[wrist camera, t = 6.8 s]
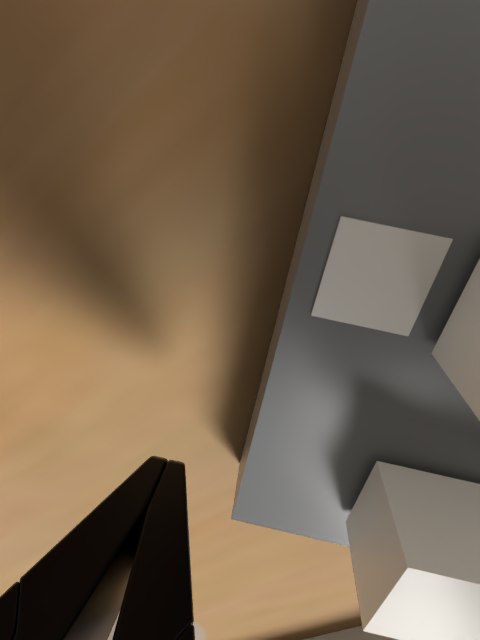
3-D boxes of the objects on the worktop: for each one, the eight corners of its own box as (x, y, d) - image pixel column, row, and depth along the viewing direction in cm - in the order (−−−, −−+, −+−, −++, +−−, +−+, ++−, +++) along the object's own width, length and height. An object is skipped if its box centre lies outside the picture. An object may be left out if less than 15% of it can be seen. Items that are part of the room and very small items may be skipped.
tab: (501, 488, 8) (576, 607, 6) (455, 547, 9) (506, 665, 7) (376, 460, 8) (407, 567, 6) (345, 521, 9) (362, 630, 7)
